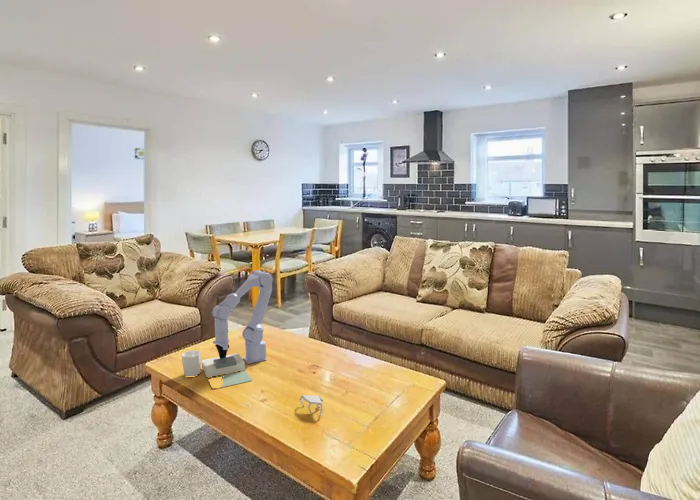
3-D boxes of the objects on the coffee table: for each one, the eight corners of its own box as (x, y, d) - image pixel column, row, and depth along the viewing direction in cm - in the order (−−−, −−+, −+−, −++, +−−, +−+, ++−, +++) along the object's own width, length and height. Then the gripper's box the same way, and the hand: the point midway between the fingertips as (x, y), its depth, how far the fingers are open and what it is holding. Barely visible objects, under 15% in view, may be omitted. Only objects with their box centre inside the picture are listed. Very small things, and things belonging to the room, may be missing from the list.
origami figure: (330, 407, 162) (330, 395, 161) (321, 418, 154) (321, 405, 153) (303, 401, 166) (303, 389, 165) (292, 411, 159) (292, 399, 158)
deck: (238, 360, 204) (237, 353, 203) (244, 370, 193) (244, 362, 193) (201, 368, 196) (201, 360, 195) (206, 378, 185) (206, 369, 185)
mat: (245, 371, 193) (245, 370, 193) (252, 380, 183) (252, 380, 183) (207, 379, 184) (207, 378, 184) (212, 389, 175) (212, 389, 175)
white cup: (179, 376, 187) (177, 355, 186) (193, 369, 194) (191, 349, 193) (191, 380, 184) (190, 358, 182) (205, 373, 191) (204, 352, 189)
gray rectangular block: (233, 360, 195) (233, 356, 195) (236, 364, 190) (236, 360, 190) (213, 364, 191) (213, 359, 191) (216, 369, 186) (215, 364, 185)
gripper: (209, 328, 196) (210, 355, 198) (215, 337, 183) (217, 367, 185) (224, 325, 199) (225, 352, 201) (232, 335, 187) (233, 363, 189)
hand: (222, 359), depth 194 cm, fingers closed
